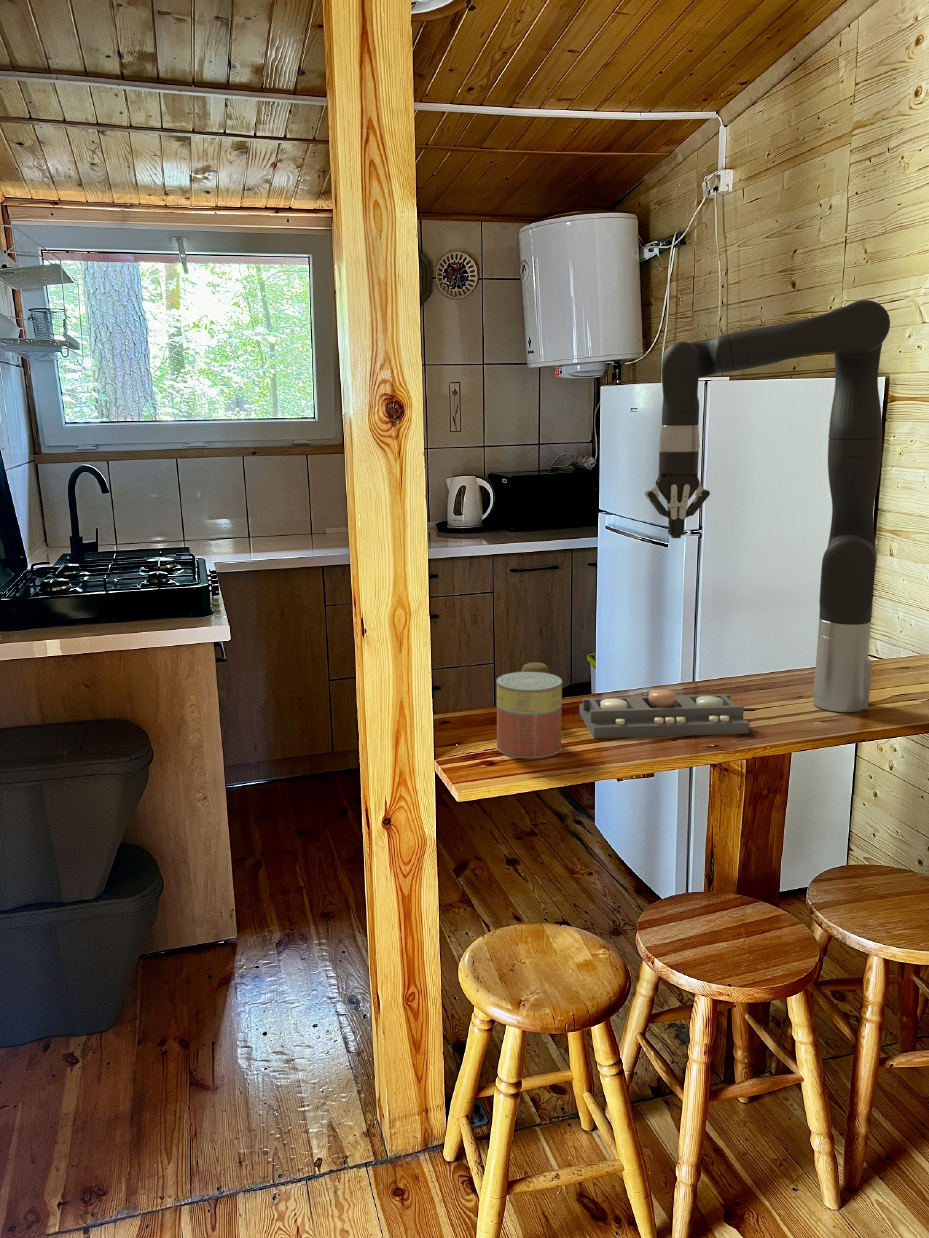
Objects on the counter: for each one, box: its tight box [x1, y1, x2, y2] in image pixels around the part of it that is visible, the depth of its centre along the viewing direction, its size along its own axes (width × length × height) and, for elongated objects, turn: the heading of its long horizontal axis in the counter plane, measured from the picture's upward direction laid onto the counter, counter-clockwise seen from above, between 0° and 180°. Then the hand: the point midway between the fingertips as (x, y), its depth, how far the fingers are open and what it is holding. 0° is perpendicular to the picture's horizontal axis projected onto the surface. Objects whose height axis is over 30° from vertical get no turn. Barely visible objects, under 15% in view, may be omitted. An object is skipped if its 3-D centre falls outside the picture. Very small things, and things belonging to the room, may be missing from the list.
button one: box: [600, 699, 627, 710], centre depth 171 cm, size 5×5×2 cm
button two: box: [696, 696, 723, 707], centre depth 172 cm, size 5×5×2 cm
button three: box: [648, 688, 676, 708], centre depth 171 cm, size 5×5×2 cm
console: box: [579, 693, 750, 739], centre depth 171 cm, size 28×14×4 cm, turn 94°
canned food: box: [495, 671, 563, 759], centre depth 159 cm, size 11×11×12 cm
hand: (675, 537), depth 184 cm, fingers closed
